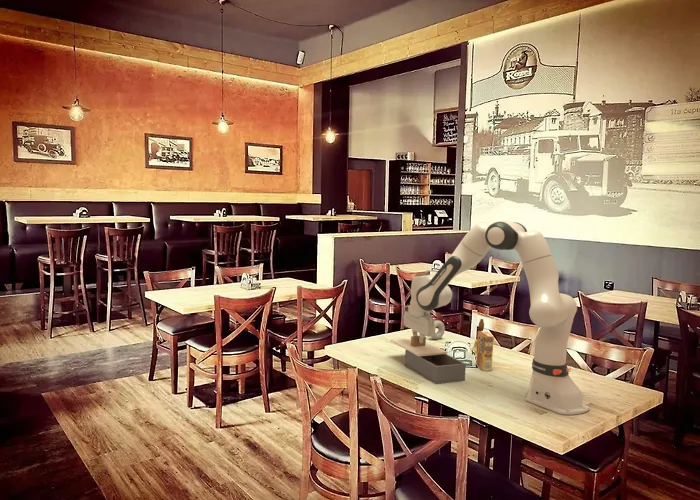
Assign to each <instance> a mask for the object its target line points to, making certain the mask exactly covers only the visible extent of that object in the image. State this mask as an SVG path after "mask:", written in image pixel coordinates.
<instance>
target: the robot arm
mask: <svg viewBox="0 0 700 500" xmlns="http://www.w3.org/2000/svg"><path fill="white" fill-rule="evenodd" d="M491 248H493V249H495V250H499V251H502V250H503V251H511V250H514V251H516V252H517V253H518V255H519V257H520V261H521V263H522V267H523V270H524V274H525V276H526V280H527V283H528V289H529V300H530V307H529V311H528V313H529V317H530V318H529V319H530V320H531V322H532V323H533V324H535V326H537V327H539V331H538V333H537V335H536V337H535V342H534V343H535V344H534V356H533V358H532V362H531V369H532V373H531V375H530V376H531V377H530V382H529V386H528V390H527V392H526V398H525V401H527V402H529V403H531V404H534V405H536V406H539V407H542V408H544V409H547V410H549V411H552V412H554V413H557V414H559V415H565V416H566V415H567V416H571V415H579V414H584V413H587V412H589V411H590V407H589V406H588V405H587V404H586V403H584V402H583V394H582V391H581V389H580V388H579V387H578V386H577V384H576V382H574V380H573V379H572V378H571V377H570V375H569V374H570V373H569V372H571V371H572V367H571V368H570V367H569V368H568V364H567V362H566V360H567V351H568V349H567V348H568V342H569V338H570V334H571V331H572V327H573V326H572V325H573V323H574V318H575V315H576V313H577V312H578V305H577V301H576V300H575V299H574V298H573V297H572V296H571V295H569V294H566V293H561V292H560V290H559V278H560V275H559V273H558V268H557V267H556V266H557V265H556V263H555V260H554V258H553V257H554V256H553V254H552V252H551V249H550V247H549V244H548V241H547V239H546V238H545V237H544V235H543V233H541V232H540V231H538V230H527V228H526V226H525V225H523V224H522V223H519V222H517V221H516V222H515V221H509V220H504V221H503V220H502V221H496V222H493V223H492V224H489V223H486V222H477V223H476V224H475V225H473V226H472V228H471V229H470V230H468V232H466V234H465V235H464V237H463V238H462V239H461V241H460V242H459V243H458V245H457V246H456V247H455V249H454V251H453V252H452V253H451V254H450V255H449V257H448V258H447V260H446V261H445V262H444V264H442V266H441V267H440V268H439V270H437V272H436V273H435V275H434V276H432V275H431V274H430V273H420V274H416V275H414V276H413V277H412V279H411V285H410V297H411V299H410V301H409V305H405V306H404V307H403V311H404V313H403V325H404V327H406V328H409V329H410V330H411V333H412V336H420V337H419V338H418V342H419V343H423V339H424V337H426V338H431V336H434V334H435V333H436V329H435V323H434V321H435V320H434V318H433V315H432V314H431V311H433V310H435V309H438V308H441V307H444V306H447V305H448V304H449V303H451V302H452V300H453V292H452V288H451V287H450V286H449V284H450V282H452V280H453V279H454V278H455V277H456V276H458V275H459V274H461V273H463V272H466V271H469V270H471V269H473V268H474V267H476V266H477V265H478V264H479V263H480V262H481V261H482V260H483V259H484V257H486V255H487V253H488V252H489V251H490V249H491ZM418 333H419V335H418Z"/></svg>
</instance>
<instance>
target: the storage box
mask: <svg viewBox="0 0 700 500" xmlns="http://www.w3.org/2000/svg"><path fill="white" fill-rule="evenodd" d="M404 350H405V351H404V352H405V353H404V354H405V355H404V366H405V367H406V368H408V369H410V370H412V371H413V372H415V373H416V374H418V375H420V376H421V377H423V378H425V379H426V380H428V381H429V380H430V382H431V381H432V382H431V383H433V382H434V383H435V385H438V384H439V383H440V384H446V383H454V382H463V381H466V370H467V368H466V366H467V363H465V362H464V361H461V360H459V359H457V358H455V357H453V356H451V355H449V354H448V353H447V354H439V355H429V356H417V355H415V354H413V353H411V352H410V351H408V350H406V349H404ZM434 383H433V384H434Z"/></svg>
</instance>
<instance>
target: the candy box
mask: <svg viewBox="0 0 700 500" xmlns="http://www.w3.org/2000/svg"><path fill="white" fill-rule="evenodd" d="M476 340H477V353H476V358H475V359H476V360H475V361H476V362H475V365H476V364H477V365H476V366H477V367H478V368H479V369H480V370H482V371H483V372H486V371H487V372H489V371H490V372H492V370H493V357H494V355H493V354H494V353H493V352H494V335H492V334H491V333H490V332H488V331H485V330H483V331H479V330H478V331H477V339H476Z"/></svg>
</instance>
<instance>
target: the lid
mask: <svg viewBox="0 0 700 500" xmlns="http://www.w3.org/2000/svg"><path fill="white" fill-rule="evenodd" d="M419 337H420V335H418V336H413V335H411V336H410V337H406V338H405V337H404V338H394V339H390V342H392V343H393V344H395V345H396V346H398V347H400V348H402V349H404V350H408V351H410V352H411V353H413V354H415V355H417V356H429V355H439V354H447V355H448V351H446V350H444V349H442V348H440V347H439V346H436V345H434V344H432V343H430V342H428V341H426V340H427V336H425V337H424V339H423V343H419V342H418V338H419Z"/></svg>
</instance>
